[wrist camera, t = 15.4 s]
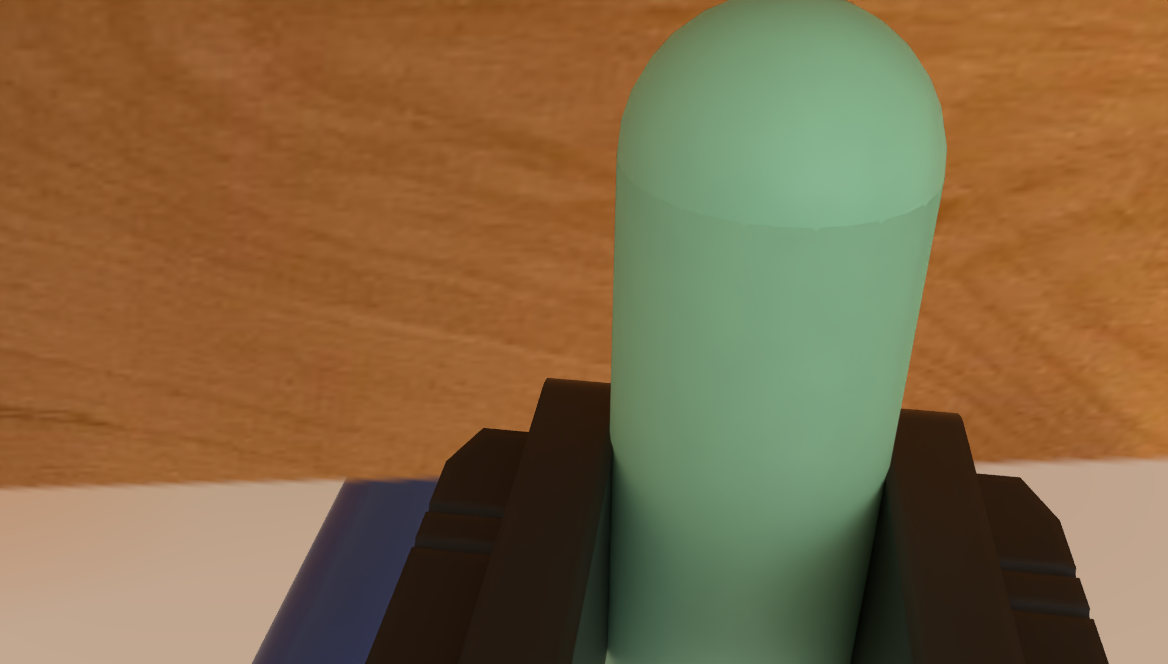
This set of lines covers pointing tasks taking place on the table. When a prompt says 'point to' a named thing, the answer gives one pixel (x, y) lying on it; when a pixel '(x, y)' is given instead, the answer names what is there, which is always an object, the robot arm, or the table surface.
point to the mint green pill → (763, 327)
